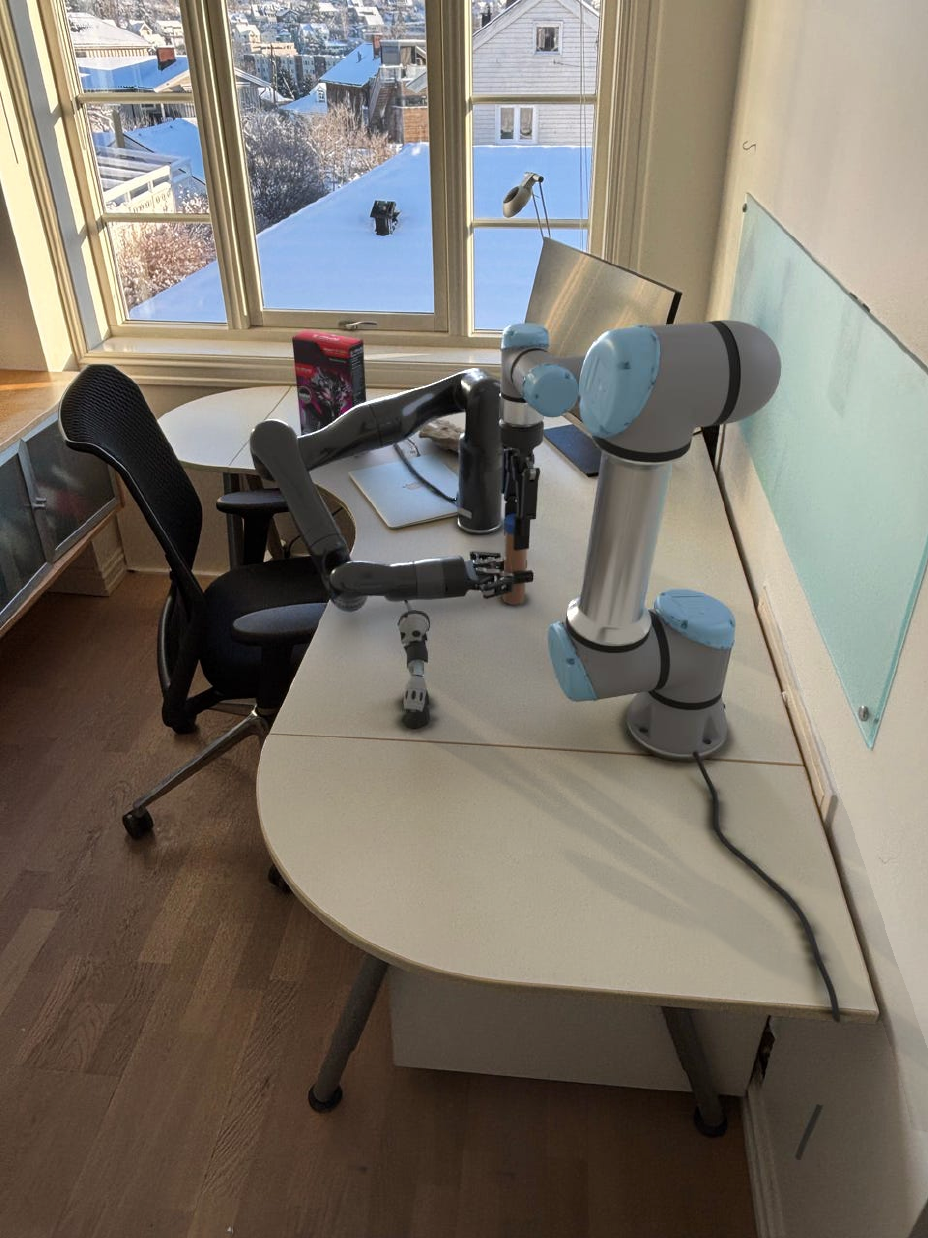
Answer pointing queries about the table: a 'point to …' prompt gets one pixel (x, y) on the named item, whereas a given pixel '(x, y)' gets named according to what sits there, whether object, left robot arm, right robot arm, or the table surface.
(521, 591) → the jar
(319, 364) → the graphics card box
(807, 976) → the table surface
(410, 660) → the robot
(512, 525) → the lid
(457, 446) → the stone
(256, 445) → the left robot arm
